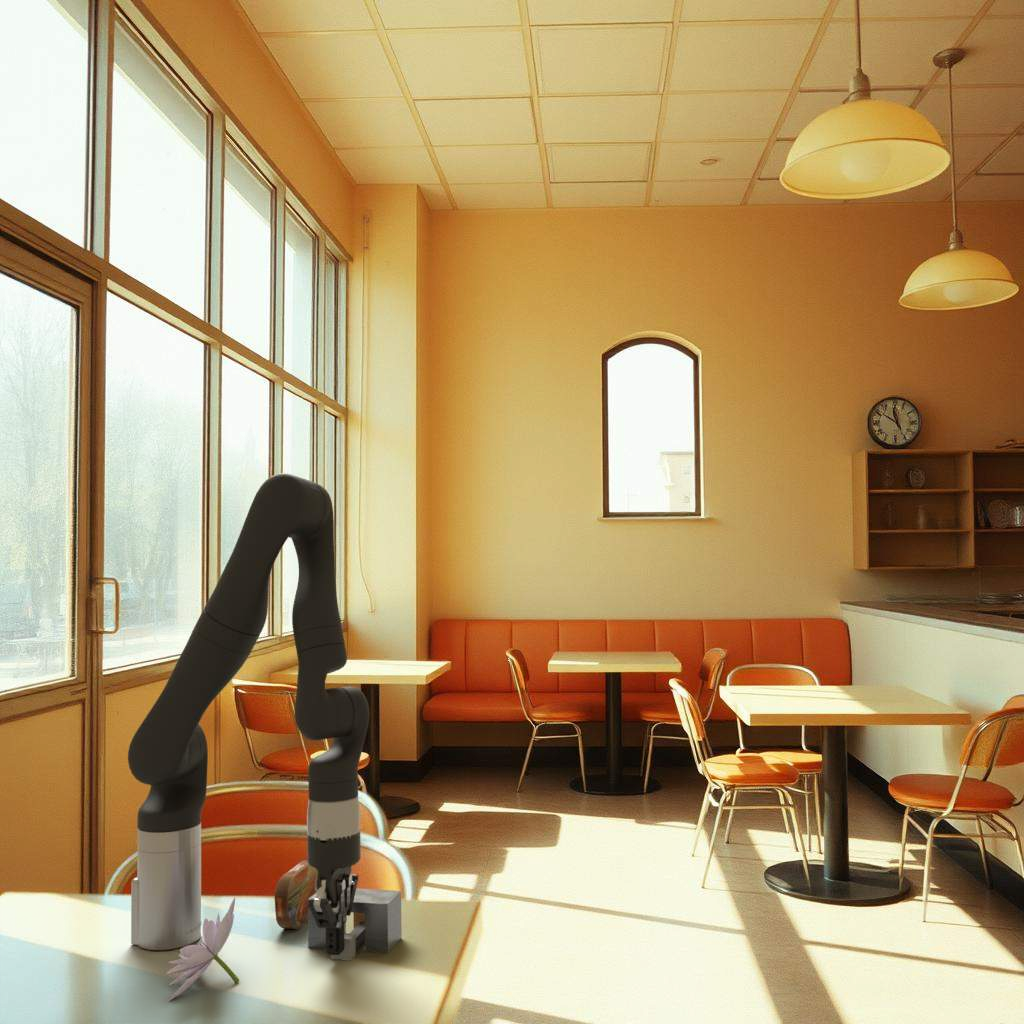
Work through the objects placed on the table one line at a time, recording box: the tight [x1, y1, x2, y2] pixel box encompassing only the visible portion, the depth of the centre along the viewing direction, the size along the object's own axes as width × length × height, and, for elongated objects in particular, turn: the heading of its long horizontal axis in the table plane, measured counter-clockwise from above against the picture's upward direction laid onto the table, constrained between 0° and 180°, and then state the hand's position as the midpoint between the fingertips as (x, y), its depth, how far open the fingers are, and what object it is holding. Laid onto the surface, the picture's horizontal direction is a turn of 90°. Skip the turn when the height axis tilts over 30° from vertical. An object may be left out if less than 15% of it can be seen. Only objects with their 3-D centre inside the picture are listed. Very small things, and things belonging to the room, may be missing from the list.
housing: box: [307, 887, 402, 954], centre depth 151 cm, size 12×6×7 cm, turn 77°
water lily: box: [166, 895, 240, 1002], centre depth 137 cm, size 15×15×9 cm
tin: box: [274, 859, 318, 930], centre depth 161 cm, size 15×3×8 cm, turn 168°
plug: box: [330, 912, 365, 961], centre depth 152 cm, size 4×16×4 cm, turn 169°
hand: (335, 953), depth 142 cm, fingers closed
